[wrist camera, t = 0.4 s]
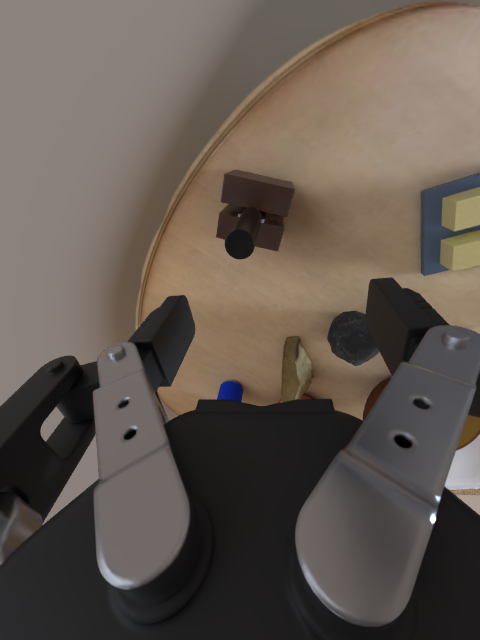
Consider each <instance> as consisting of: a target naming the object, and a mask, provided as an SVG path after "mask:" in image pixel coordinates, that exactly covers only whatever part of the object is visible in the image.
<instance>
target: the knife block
mask: <svg viewBox="0 0 480 640" xmlns="http://www.w3.org/2000/svg"><path fill="white" fill-rule="evenodd" d="M294 190H295V189H294V187H293V184H292V182H288V181H284V180H279V179H275V178H270V177H266V176H261V175H257V174H252V173H248V172H243V171H239V170H233V171H231V172H228V173H225V174H224V182H223V189H222V197H221V202H223V203H227V204H228V205H227V206H226V207H225V208H224V209H223V210H222V211H221V212H220V213H219V220H218V227H217V235H216V237H217V238H221V239H226V237H227V235H228V234H229V232H230V231H231V229H232V227H233V226H234V224H235V223H236V221H237V220H238V218H239V217H238V214H239V213H240V211H241V210H242V208H243V207H245V208H249V207H254V208H256V209H258V210H259V211H263V212H266V217H265V221H264V223H261V225H260V229H259V232H258V236H257V240H256V243H255V246H256V247H261V248H265V249H270V250H274V251H278V249H279V245H280V242H281V238H282V234H283V231H284V216H285V217H287V216H288V212H289V209H290V205H291V201H292V198H293V194H294Z"/></svg>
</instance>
